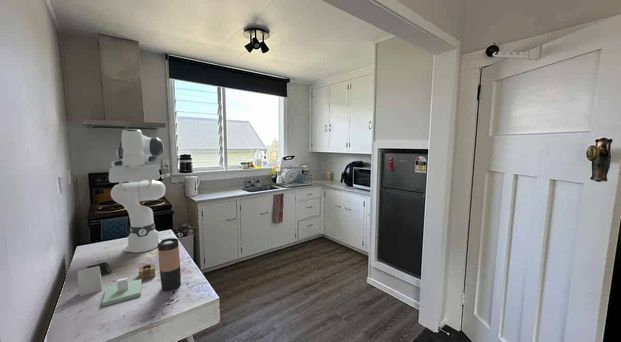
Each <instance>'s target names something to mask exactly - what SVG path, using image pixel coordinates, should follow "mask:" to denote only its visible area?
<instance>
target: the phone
mask: <svg viewBox="0 0 621 342" xmlns="http://www.w3.org/2000/svg"><path fill="white" fill-rule="evenodd" d="M97 266H100V272H101V278H102V277H105V276H107V275H111V274H112V270H111V268H110V266H109V263H108V262H107V261H103V262H100V263H97V264H92V265H89V266H86V268H85V269H88V268H93V267H97Z"/></svg>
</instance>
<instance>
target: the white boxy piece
mask: <svg viewBox="0 0 621 342" xmlns="http://www.w3.org/2000/svg"><path fill="white" fill-rule="evenodd" d="M77 281H78V282H77V283H78V284H77V285H78V289H79V297H83V296H88V295H90V294H95V293H98V292H100V291H103V281H102V277H101V272H100V266H97V267H93V268H88V269H86V268H84V269H82V270H77Z"/></svg>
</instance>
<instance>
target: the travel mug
mask: <svg viewBox="0 0 621 342" xmlns="http://www.w3.org/2000/svg"><path fill="white" fill-rule="evenodd" d="M157 251H158V252H157V253H158V266H159V267H158V268H159V277H160V278H159V279H160V284H161V290H162V292H171V291H175V290H177V289H179V288H180V287H181V284H182V283H181V281H182V280H181V279H182V277H181V274H182V273H181V259H180V258H181V257H180V247H179V239H178V238H174V237H173V238H172V237H171V238H170V237H169V238H166V239H165V238H164V239H162V240H161V242H160V243H158V247H157Z"/></svg>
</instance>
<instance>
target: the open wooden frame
mask: <svg viewBox="0 0 621 342" xmlns="http://www.w3.org/2000/svg"><path fill="white" fill-rule="evenodd" d="M155 265H156V264H155V262H153V263H149V264H145V265H139V266H138V279H142V281H143V280H148V279H151V278H155V277H156V268H155V267H156V266H155Z"/></svg>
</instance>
